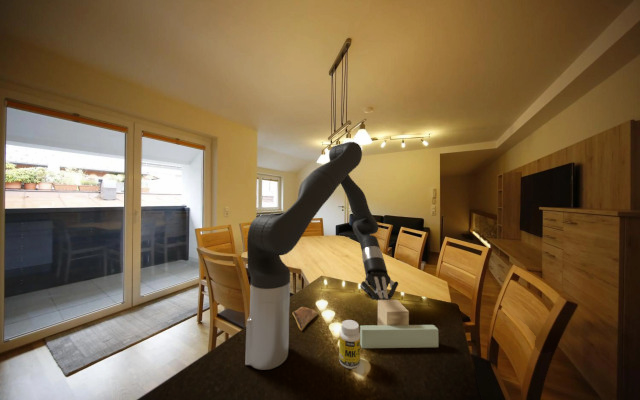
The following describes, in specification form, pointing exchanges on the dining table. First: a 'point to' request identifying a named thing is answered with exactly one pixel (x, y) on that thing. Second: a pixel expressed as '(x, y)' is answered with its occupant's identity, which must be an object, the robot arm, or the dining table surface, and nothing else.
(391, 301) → the birch block
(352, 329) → the supplement bottle
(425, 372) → the dining table surface
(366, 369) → the dining table surface
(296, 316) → the shard
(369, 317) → the dining table surface
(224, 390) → the dining table surface
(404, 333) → the sage fence board
